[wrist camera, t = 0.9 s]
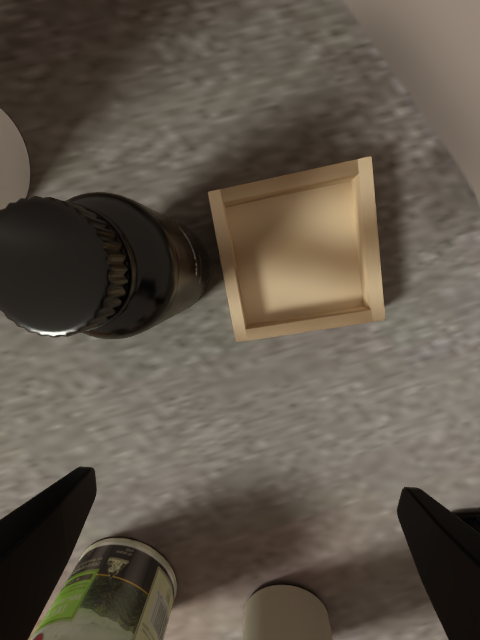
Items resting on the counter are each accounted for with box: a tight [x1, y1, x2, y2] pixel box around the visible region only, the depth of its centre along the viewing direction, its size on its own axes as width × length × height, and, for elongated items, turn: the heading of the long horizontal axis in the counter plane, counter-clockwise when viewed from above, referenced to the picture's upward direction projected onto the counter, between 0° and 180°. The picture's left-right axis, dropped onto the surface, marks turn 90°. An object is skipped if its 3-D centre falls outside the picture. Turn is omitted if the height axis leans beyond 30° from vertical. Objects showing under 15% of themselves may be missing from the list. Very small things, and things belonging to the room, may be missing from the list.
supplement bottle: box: [0, 192, 209, 339], centre depth 15 cm, size 7×7×12 cm
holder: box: [208, 156, 385, 342], centre depth 19 cm, size 10×10×2 cm
